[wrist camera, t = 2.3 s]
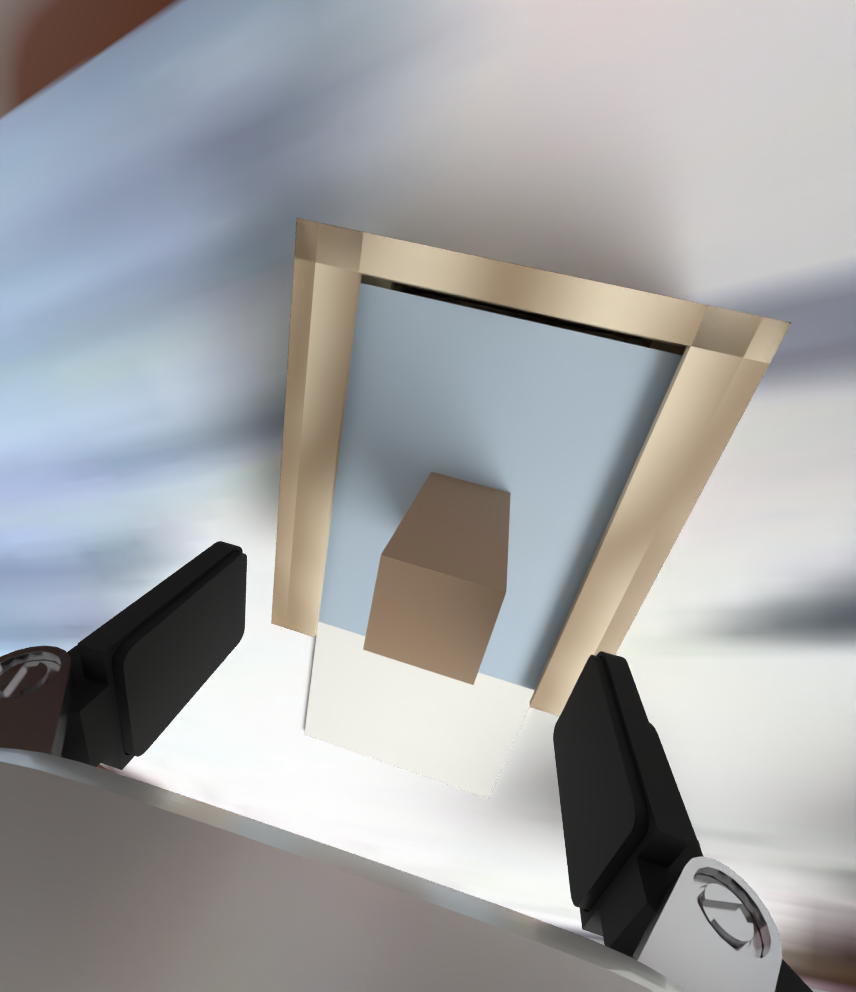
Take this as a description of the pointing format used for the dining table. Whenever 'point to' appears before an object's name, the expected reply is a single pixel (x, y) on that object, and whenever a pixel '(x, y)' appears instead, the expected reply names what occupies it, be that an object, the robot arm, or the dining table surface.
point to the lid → (477, 480)
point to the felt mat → (412, 713)
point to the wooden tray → (542, 299)
